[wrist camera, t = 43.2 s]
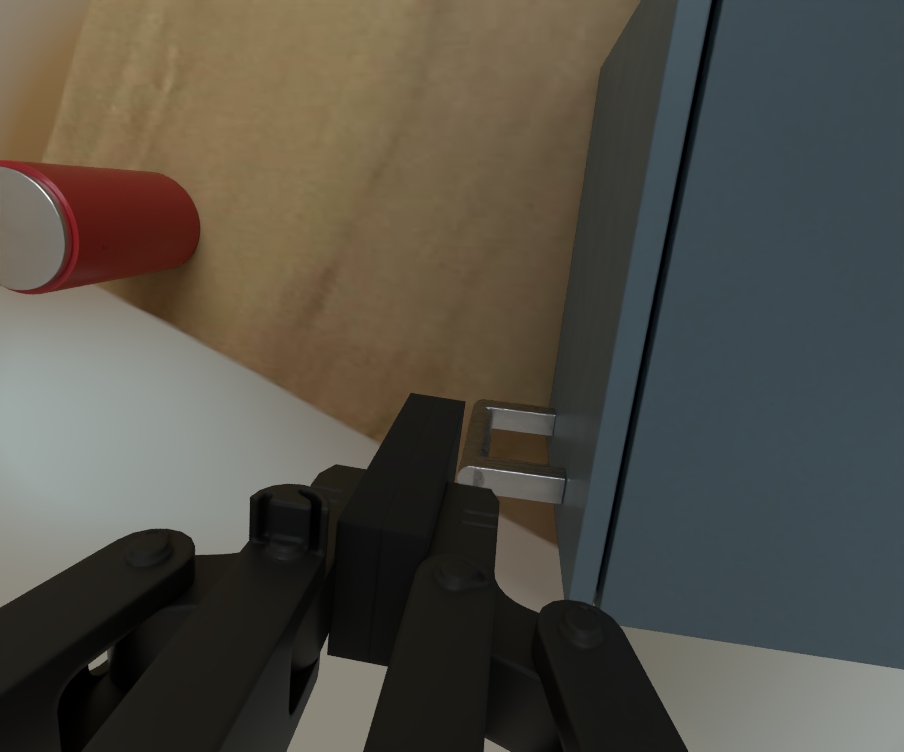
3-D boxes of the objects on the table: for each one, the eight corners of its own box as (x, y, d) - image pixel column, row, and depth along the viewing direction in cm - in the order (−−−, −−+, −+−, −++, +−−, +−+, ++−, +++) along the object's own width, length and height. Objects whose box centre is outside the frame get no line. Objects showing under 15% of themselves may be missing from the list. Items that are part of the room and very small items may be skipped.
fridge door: (473, 423, 42) (436, 595, 24) (513, 59, 35) (506, -99, 17) (559, 434, 41) (590, 619, 23) (618, 67, 34) (729, -86, 16)
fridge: (562, 433, 42) (597, 622, 23) (621, 68, 35) (741, -88, 16) (779, 461, 40) (1002, 685, 22) (886, 89, 33) (1351, -54, 15)
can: (184, 163, 39) (41, 147, 27) (211, 261, 41) (88, 285, 29) (97, 181, 40) (-76, 172, 28) (127, 276, 42) (-24, 305, 30)
